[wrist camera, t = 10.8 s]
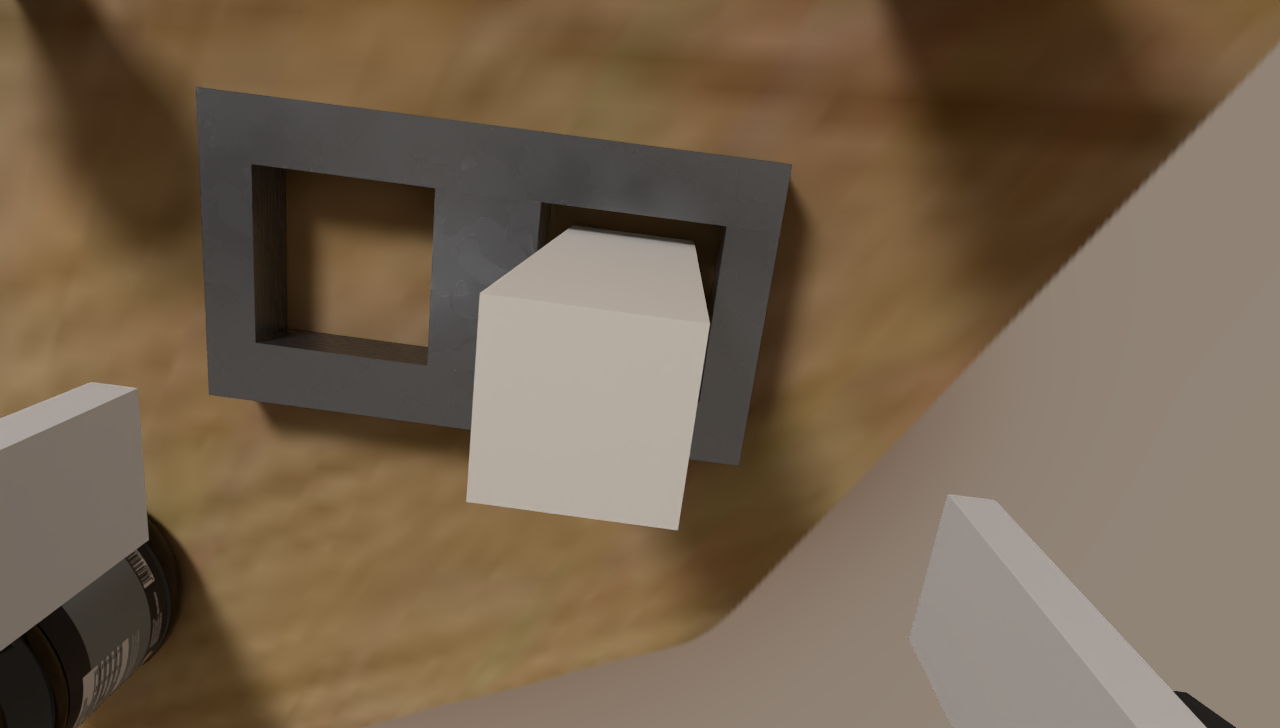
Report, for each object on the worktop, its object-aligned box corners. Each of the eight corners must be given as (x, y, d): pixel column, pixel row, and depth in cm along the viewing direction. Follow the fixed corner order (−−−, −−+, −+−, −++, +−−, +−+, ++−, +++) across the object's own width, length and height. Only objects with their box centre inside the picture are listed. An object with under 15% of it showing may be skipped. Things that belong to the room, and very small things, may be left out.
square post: (561, 341, 32) (466, 501, 17) (572, 225, 30) (479, 293, 16) (677, 357, 32) (678, 530, 17) (693, 240, 30) (709, 323, 16)
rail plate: (243, 376, 33) (209, 394, 30) (235, 92, 29) (195, 86, 27) (734, 442, 33) (738, 466, 30) (782, 163, 29) (792, 164, 27)
